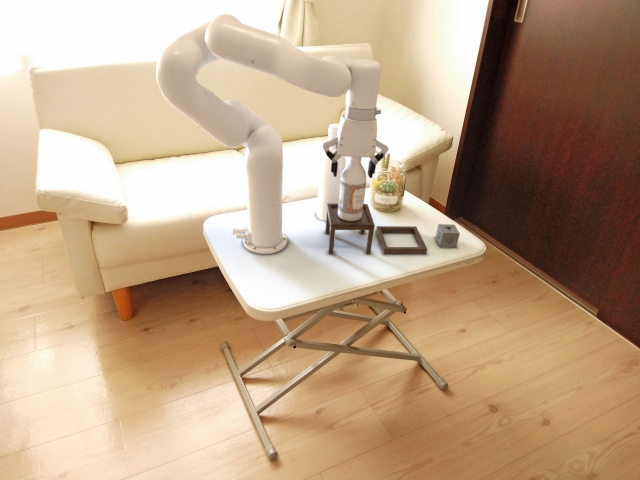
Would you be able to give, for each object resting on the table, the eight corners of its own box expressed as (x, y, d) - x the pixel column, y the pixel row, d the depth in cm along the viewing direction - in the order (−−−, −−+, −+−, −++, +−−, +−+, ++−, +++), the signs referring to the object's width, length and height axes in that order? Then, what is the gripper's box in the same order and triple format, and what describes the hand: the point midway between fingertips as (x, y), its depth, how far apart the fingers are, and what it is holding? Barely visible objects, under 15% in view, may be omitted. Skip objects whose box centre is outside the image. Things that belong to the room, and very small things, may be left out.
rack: (328, 254, 128) (331, 224, 123) (325, 231, 139) (327, 203, 133) (426, 254, 131) (432, 225, 126) (415, 231, 141) (420, 204, 136)
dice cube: (451, 238, 139) (454, 224, 136) (456, 247, 135) (459, 233, 132) (435, 238, 139) (438, 224, 136) (439, 247, 135) (443, 232, 132)
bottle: (341, 222, 144) (349, 130, 128) (316, 221, 144) (321, 129, 127) (340, 210, 150) (348, 121, 134) (316, 208, 150) (322, 120, 134)
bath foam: (347, 224, 125) (354, 156, 114) (332, 213, 130) (338, 147, 119) (366, 218, 128) (375, 152, 118) (352, 208, 133) (359, 143, 122)
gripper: (390, 109, 117) (381, 170, 126) (324, 106, 115) (319, 168, 125) (397, 118, 111) (386, 182, 120) (326, 115, 109) (321, 180, 118)
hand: (352, 175), depth 122 cm, fingers open, 9 cm apart
